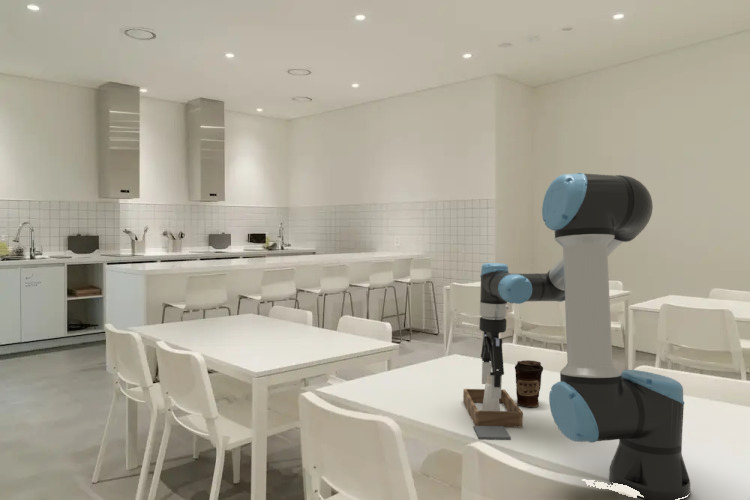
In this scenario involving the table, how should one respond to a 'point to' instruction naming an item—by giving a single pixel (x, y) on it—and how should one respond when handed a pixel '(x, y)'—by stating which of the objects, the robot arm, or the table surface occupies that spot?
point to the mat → (492, 432)
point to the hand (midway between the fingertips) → (490, 390)
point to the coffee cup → (528, 382)
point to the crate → (492, 417)
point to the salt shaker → (489, 398)
